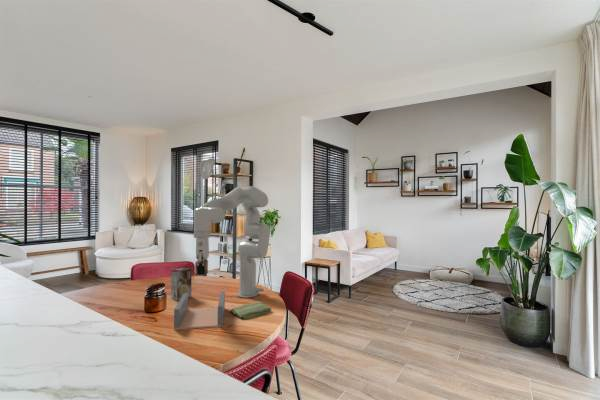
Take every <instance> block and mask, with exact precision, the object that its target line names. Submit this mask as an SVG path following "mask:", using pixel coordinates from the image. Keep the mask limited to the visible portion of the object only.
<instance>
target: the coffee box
mask: <svg viewBox="0 0 600 400" xmlns="http://www.w3.org/2000/svg"><path fill="white" fill-rule="evenodd" d="M170 271H171V272H170V273H171V274H170V278H171V279H170V281H171V282H170V284H171V286H170V289H171V290H170V294H171V295H170V298H171V299H172V300H173V301H180V299H181V297H182V296H183V294H184V293H188V298H191V297H192V268H188V267H180V268H176V269H171V270H170Z"/></svg>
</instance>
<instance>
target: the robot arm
mask: <svg viewBox="0 0 600 400" xmlns="http://www.w3.org/2000/svg"><path fill="white" fill-rule="evenodd" d="M268 197H269V196H268V195H267V194H266V193H265V192H264V191H262V190H260V189H259V188H258V187H256V186H253V185H249V186H248V185H240V186H237V187H235V188H233V189H232V190H230V192H228V193H227V194H226V195H225V194H224V195H223V196H220V197H217V198H215V199H213V200H210V201H208V202H206V203H204V204H203V205H202V206H200V207H196V208H195V209H194V210H193V238H194V239H195V259H196V261H197V260H198V266H197V274H198V275H197V276H204V275H203V274H205V266H204V260H208V258H209V257H210V247H209V246H210V244H209V243H210V241H209V238H211V230H212V229H211V225H212V223H214V224H219V223H222V222H223V221H224V220H225V218H226V212H229V211H233V210H234V209H236V208H237V207H238V206H239V205H240V204H241V206H242V207H243V208H244V212H245V221H244V227H243V237H245V238H246V239H250V240H243V241H241V242H240V243H239V244H238V247H237V252H238V257H239V280H238V281H239V288H238V289H239V291H236V296H237V297H238V298H244V299H245V298H246V299H248V298H255V297H257V296H258V295H259V292H264V287H257V285H256V284H257V263H256V261H255V259H264V258H266V256H267V254H268V251H269V244H270V237H271V230H270V226H269V224H267V223H260V220H261V214H260V210H259V209H258V208H265V207H266V206H267V205H268V203H269V198H268ZM251 239H252V240H251ZM255 240H258V241H255ZM202 260H203V261H202Z"/></svg>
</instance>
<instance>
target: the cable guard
mask: <svg viewBox="0 0 600 400" xmlns="http://www.w3.org/2000/svg"><path fill="white" fill-rule="evenodd" d="M225 308H226V291H220V295H219V299H218V305H217V307H202V308H201V307H200V308H189V297H188V293H184V294H183V296H182V297H181V299H180V300H178V302H177V304H176V305H175V307H174V310H173V311H174V313H173V315H174V316H173V329H174V331H175V330H191V329H192V330H193V329H207V328H221V327H223V324H224V318H225V317H224V315H225Z"/></svg>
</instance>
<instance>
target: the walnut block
mask: <svg viewBox="0 0 600 400" xmlns="http://www.w3.org/2000/svg"><path fill="white" fill-rule="evenodd" d="M202 261H203V260H202ZM194 263H195V266H194V267H195V269H194V270H195V271H194V272H195V273H194V274H195V276H199V275H198V274H197V266H198V260H197V259H196V261H195V262H194ZM204 266H205V274H203V275H202V276H207V275H208V273H209V271H208V270H209V269H208V268H209V260H208V259H206V260H204Z"/></svg>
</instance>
